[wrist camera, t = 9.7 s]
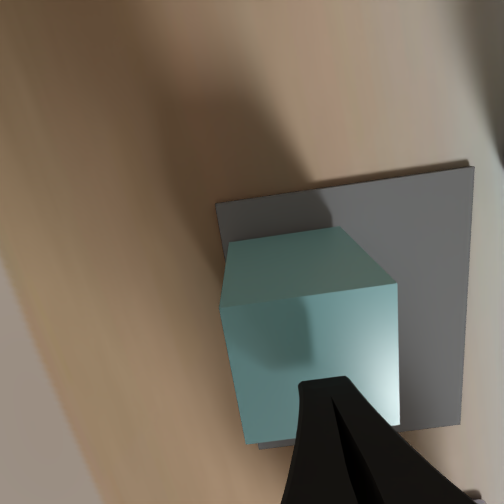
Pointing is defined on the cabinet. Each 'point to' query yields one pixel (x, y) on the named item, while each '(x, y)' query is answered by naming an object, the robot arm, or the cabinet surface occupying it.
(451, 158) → the cabinet surface
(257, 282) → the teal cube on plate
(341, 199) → the mat
